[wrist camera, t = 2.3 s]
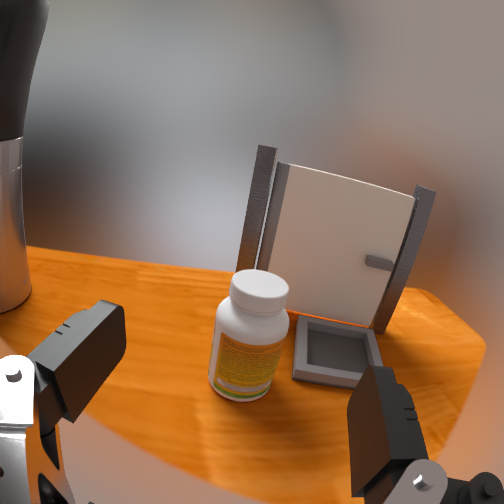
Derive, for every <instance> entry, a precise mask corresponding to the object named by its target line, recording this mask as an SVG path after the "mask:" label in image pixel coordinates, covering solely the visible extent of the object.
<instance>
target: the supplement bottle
mask: <svg viewBox="0 0 504 504" xmlns="http://www.w3.org/2000/svg"><path fill="white" fill-rule="evenodd" d="M288 293H289V286H288V284H287V283H286V282H285V281H284V280H283V279H282V278H280V277H279V276H277V275H275V274H272V273H270V272H266V271H262V270H254V269H248V270H242V271H239V272H237V273H235V274H234V275H233V277H232V280H231V285H230V289H229V297H227V298H226V299H224V300H223V301H222V302H221V303H220V305H219V306H218V309H217V313H216V318H215V325H214V332H213V340H212V346H211V354H210V361H209V369H208V378H209V382H210V384H211V386H212V387H213V389H214V390H215V391H216V392H217V393H219V394H220V395H222V396H223V397H225V398H227V399H230V400H233V401H239V402H248V401H253V400H256V399H258V398H261V397H262V396H263V395H265V394H266V393H267V391H268V390H269V388H270V386H271V383H272V380H273V377H274V374H275V370H276V367H277V364H278V361H279V358H280V355H281V351H282V348H283V345H284V342H285V339H286V336H287V333H288V328H289V316H288V314H287V312H286V310H285V309H284V307H285V304H286V301H287V297H288Z"/></svg>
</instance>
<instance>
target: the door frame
mask: <svg viewBox="0 0 504 504" xmlns="http://www.w3.org/2000/svg"><path fill="white" fill-rule="evenodd" d="M277 150H278V148H277V147H273V146H268V145H262V144H259V145H258V151H257V157H256V162H255V167H254V173H253V178H252V184H251V189H250V194H249V200H248V205H247V211H246V216H245V222H244V228H243V233H242V239H241V244H240V250H239V256H238V262H237V268H236V273H237V272H239V271H242V270H248V269H254V266H255V261H256V256H257V251H258V246H259V241H260V236H261V231H262V226H263V221H264V216H265V211H266V206H267V201H268V196H269V191H270V186H271V181H272V176H273V171H274V166H275V161H276V156H277ZM435 195H436V192H435V191H433V190H431V189H428V188H425V187H422V186H420V185H416V188H415V192H414V196H413V197H414V198H415V202H414V205H413V209H412V212H411V216H410V219H409V222H408V225H407V229H406V232H405V235H404V238H403V241H402V244H401V247H400V250H399V253H398V256H397V258H396V261H395V264H394V268H393V270H392V272H391V275H390V278H389V280H388V283H387V285H386V288H385V291H384V293H383V296H382V298H381V301H380V303H379V305H378V308H377V310H376V313H375V315H374V317H373V320H372V322H371V324H370V326H369V329H373V331H374V333H378V334H384V332H385V330H386V327H387V325H388V323H389V321H390V319H391V317H392V314H393V312H394V310H395V308H396V305H397V303H398V301H399V298H400V296H401V293H402V291H403V289H404V286H405V284H406V281H407V279H408V276H409V274H410V271H411V268H412V265H413V263H414V260H415V258H416V255H417V252H418V249H419V246H420V243H421V240H422V237H423V234H424V231H425V228H426V225H427V222H428V219H429V216H430V212H431V209H432V206H433V201H434V198H435Z"/></svg>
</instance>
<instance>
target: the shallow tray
mask: <svg viewBox="0 0 504 504" xmlns="http://www.w3.org/2000/svg"><path fill="white" fill-rule="evenodd" d="M368 365H375V366H383V363H382V359H381V355H380V352H379V348H378V344H377V341H376V337H375V334H374V331H373V329H368V328H363V327H357V326H352V325H347V324H342V323H337V322H332V321H327V320H322V319H318V318H313V317H308V316H303V315H299V316H298V319H297V322H296V331H295V345H294V358H293V370H292V379H293V380H299V381H304V382H310V383H315V384H321V385H327V386H333V387H340V388H347V389H354V390H355V388H356V386H357V384H358V382H359V380H360V379H361V377H362V375H363V373H364V371H365V369H366V367H367V366H368ZM383 367H384V366H383Z"/></svg>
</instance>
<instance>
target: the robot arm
mask: <svg viewBox="0 0 504 504" xmlns="http://www.w3.org/2000/svg"><path fill="white" fill-rule="evenodd" d="M48 11H49V0H0V313H2V312H5V311H8V310H11V309H13V308H15V307H17V306H18V305H20V304H21V303H22V302H23V301H24V300H26V298H27V297H28V296H29V294H30V292H31V280H30V274H29V268H28V261H27V252H26V244H25V235H24V223H23V207H22V143H23V137H22V136H23V128H24V119H25V113H26V108H27V102H28V96H29V90H30V84H31V79H32V75H33V70H34V66H35V62H36V58H37V55H38V51H39V48H40V45H41V41H42V38H43V34H44V31H45V27H46V22H47V18H48ZM125 350H126V331H125V317H124V309H123V307H122V306H120V305H117V304H114V303H111V302H108V301H105V300H100V301H98V302H97V303H96V304H95V305H94V306H93V307H92V308H90V309H89V310H87V309H85V310H82V311H80V312H78V313H75V314H73V315H72V316H71V317H69V318H68V319H67V320H66V321H65V322H64V323H63V325H60V326H59V327H58V328H57V329H56V330H55V332H53V333H51V334H50V335H49V336H48V337H47V338H46V339H45V340H44V341H43V342H42V343H40V344H39V345H38V346H37V347H36V348H35V349H34V350H33V351H32V352H31V353H30V354H29V355H28V356H26V357H23V356H19V355H12V356H8V357H5V358H3V359H1V360H0V504H75V500H74V497H73V494H72V491H71V488H70V486H69V484H68V482H67V479H66V476H65V471H64V465H63V458H62V451H61V444H60V435H59V427H58V424H57V423H58V421H59V420H60V419H61V418H62V417H63V418H65V419H67V420H68V421H70V422H72V423H74V422H75V420H76V419H77V418H78V416H79V415H80V414H81V412H82V411H83V410H84V408H85V407H86V406H87V404H88V403H89V401H90V400H91V399H92V397H93V396H94V395H95V393H96V392H97V391H98V389H99V388H100V387H101V385H102V384H103V383H104V381H105V380H106V379H107V377H108V376H109V375H110V373H111V372H112V371H113V369H114V368H115V367H116V366H117V364H118V363H119V362H120V360H121V359H122V357H123V355H124V353H125ZM417 420H418V417H417V413H416V411H415V407H414V403H413V400H412V397H411V395H410V394H409V392H408V391H407V390H406V388H405V387H404V386H403V385H402V384H397V382H396V378H395V375H394V372H393V369H392V368H390V367H383V366H375V365H368V366H367V367H366V369H365V371H364V373H363V375H362V377H361V379H360V380H359V382H358V384H357V386H356V388H355V390H354V392H353V393H352V395H351V397H350V400H349V403H348V407H347V421H348V434H349V448H350V466H351V492H352V497H364V501H365V504H504V490H503V486H502V484H501V482H500V480H499V479H498V478H497V477H496V476H495V475H493V474H492V473H489V472H482V473H480V474H478V475H476V476H475V477H474V478H473V479H471V480H470V481H469V482H468V481H463V480H457V479H452V478H448V477H447V475H446V473H445V471H444V469H443V468H442V467H441V466H440V465H439V464H437V463H436V462H434V461H431V460H429V458H428V454H427V450H426V446H425V442H424V438H423V435H422V431H421V427H420V424H419V421H417ZM88 504H94V503H92V502H89V503H88Z"/></svg>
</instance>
